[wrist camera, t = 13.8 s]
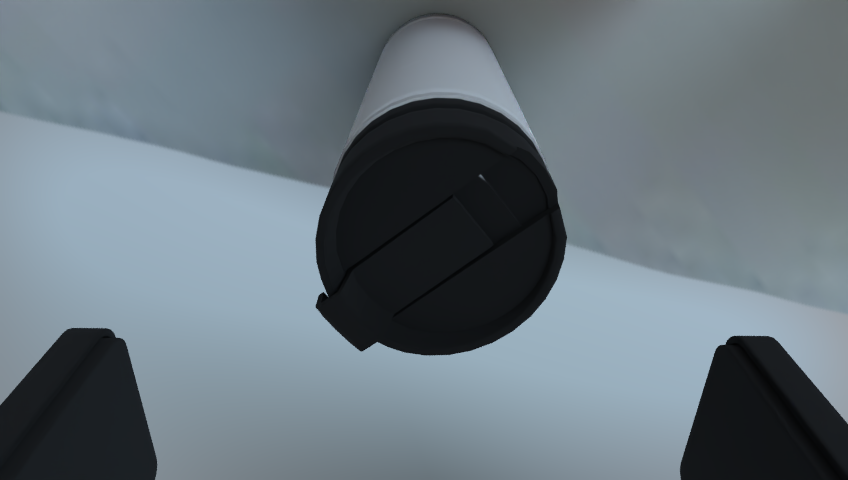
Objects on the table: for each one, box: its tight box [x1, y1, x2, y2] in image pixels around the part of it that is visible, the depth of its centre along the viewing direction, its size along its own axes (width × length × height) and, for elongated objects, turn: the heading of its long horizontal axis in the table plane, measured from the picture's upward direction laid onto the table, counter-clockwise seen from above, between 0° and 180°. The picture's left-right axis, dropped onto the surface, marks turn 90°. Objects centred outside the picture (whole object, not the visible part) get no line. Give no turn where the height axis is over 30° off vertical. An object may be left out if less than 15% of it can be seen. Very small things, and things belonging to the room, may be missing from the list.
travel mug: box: [316, 14, 567, 355], centre depth 23 cm, size 6×7×20 cm
